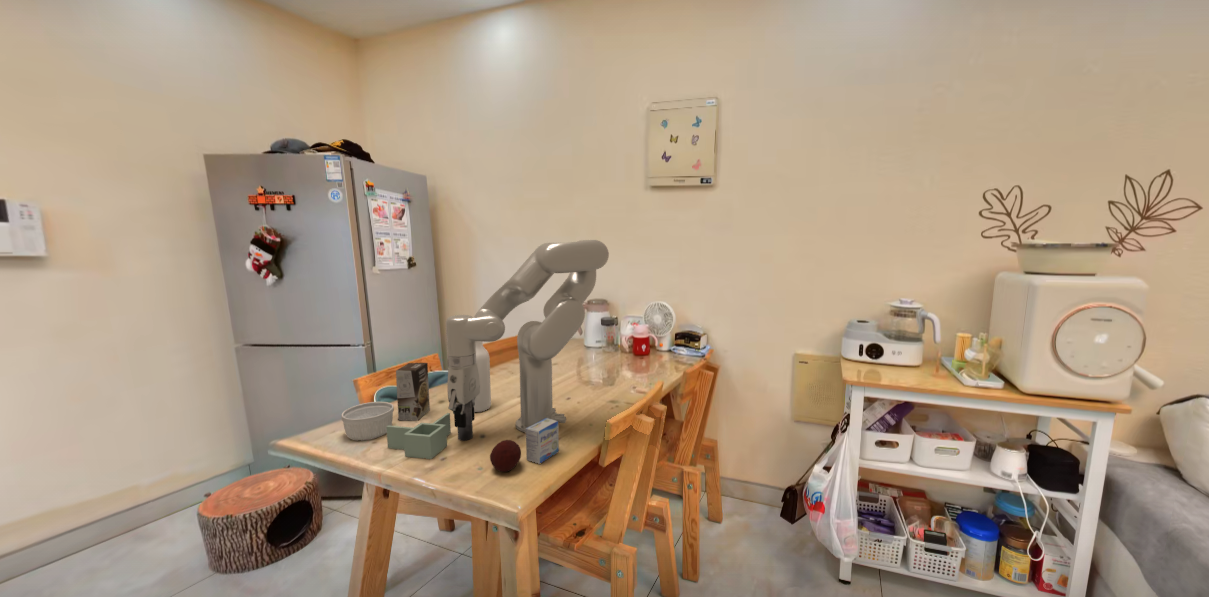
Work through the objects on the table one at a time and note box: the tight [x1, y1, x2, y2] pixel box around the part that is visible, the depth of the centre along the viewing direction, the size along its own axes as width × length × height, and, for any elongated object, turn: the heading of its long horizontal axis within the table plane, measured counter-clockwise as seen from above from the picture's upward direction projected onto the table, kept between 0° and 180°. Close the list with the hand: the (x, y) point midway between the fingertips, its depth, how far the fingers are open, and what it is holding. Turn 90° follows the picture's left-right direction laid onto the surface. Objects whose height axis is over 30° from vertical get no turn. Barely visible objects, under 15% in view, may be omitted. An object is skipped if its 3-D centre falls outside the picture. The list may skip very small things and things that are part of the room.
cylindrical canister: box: [457, 400, 474, 442], centre depth 120 cm, size 4×4×12 cm
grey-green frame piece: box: [386, 412, 452, 460], centre depth 117 cm, size 15×15×6 cm
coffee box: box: [395, 362, 431, 422], centre depth 136 cm, size 9×6×16 cm
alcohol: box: [473, 341, 492, 414], centre depth 141 cm, size 9×9×30 cm
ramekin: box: [340, 401, 395, 441], centre depth 124 cm, size 13×13×7 cm
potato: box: [489, 439, 522, 473], centre depth 104 cm, size 7×8×7 cm
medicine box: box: [525, 418, 560, 465], centre depth 110 cm, size 8×4×9 cm, turn 148°
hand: (464, 422), depth 120 cm, fingers closed on cylindrical canister, 4 cm apart
